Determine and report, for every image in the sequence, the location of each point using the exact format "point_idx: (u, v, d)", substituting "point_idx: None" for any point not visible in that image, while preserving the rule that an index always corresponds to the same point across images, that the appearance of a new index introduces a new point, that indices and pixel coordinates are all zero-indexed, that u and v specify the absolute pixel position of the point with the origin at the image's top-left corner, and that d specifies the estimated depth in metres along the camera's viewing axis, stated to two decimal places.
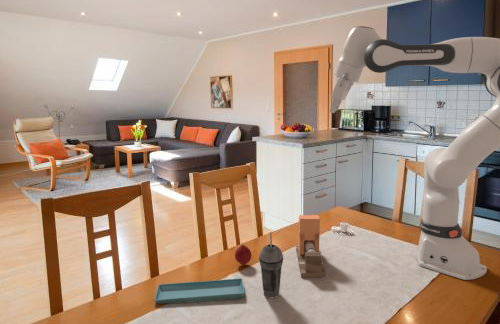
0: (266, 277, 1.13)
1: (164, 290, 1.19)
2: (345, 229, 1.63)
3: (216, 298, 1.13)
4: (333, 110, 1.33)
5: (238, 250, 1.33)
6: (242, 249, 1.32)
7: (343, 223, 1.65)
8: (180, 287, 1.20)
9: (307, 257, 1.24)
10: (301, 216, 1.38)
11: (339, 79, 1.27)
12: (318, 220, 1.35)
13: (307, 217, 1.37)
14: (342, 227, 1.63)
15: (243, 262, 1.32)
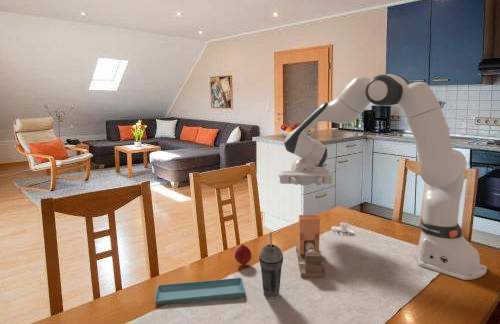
0: (266, 277, 1.13)
1: (164, 291, 1.18)
2: (345, 229, 1.63)
3: (217, 298, 1.13)
4: (294, 181, 1.43)
5: (238, 250, 1.33)
6: (242, 249, 1.32)
7: (343, 223, 1.65)
8: (180, 287, 1.20)
9: (307, 257, 1.24)
10: (301, 216, 1.38)
11: None
12: (318, 220, 1.35)
13: (307, 217, 1.37)
14: (342, 227, 1.63)
15: (243, 262, 1.32)
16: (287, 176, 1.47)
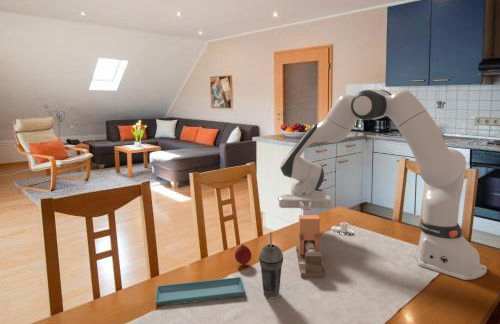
0: (266, 277, 1.13)
1: (163, 291, 1.18)
2: (345, 229, 1.63)
3: (217, 297, 1.13)
4: (302, 206, 1.45)
5: (238, 250, 1.33)
6: (242, 249, 1.32)
7: (343, 223, 1.65)
8: (179, 288, 1.19)
9: (307, 257, 1.24)
10: (301, 216, 1.38)
11: None
12: (318, 220, 1.35)
13: (307, 217, 1.37)
14: (342, 227, 1.63)
15: (243, 262, 1.32)
16: (286, 200, 1.49)
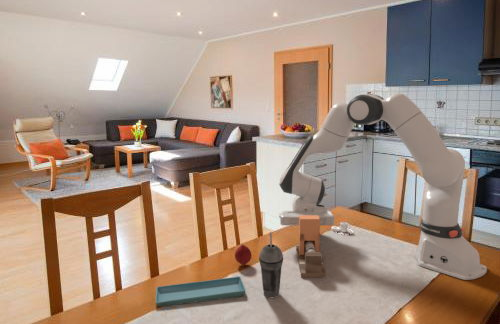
0: (266, 277, 1.13)
1: (163, 292, 1.18)
2: (345, 229, 1.63)
3: (218, 297, 1.14)
4: None
5: (238, 250, 1.33)
6: (242, 249, 1.32)
7: (343, 223, 1.65)
8: (179, 288, 1.19)
9: (307, 257, 1.24)
10: (301, 216, 1.38)
11: None
12: (318, 220, 1.35)
13: (307, 217, 1.37)
14: (342, 227, 1.63)
15: (243, 262, 1.32)
16: (288, 218, 1.45)
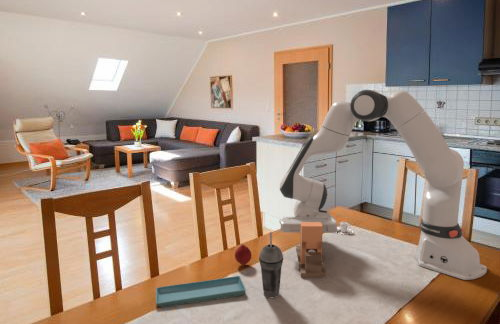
0: (266, 277, 1.13)
1: (162, 293, 1.17)
2: (345, 229, 1.63)
3: (218, 297, 1.14)
4: None
5: (238, 250, 1.33)
6: (242, 249, 1.32)
7: (343, 223, 1.65)
8: (178, 289, 1.19)
9: (307, 257, 1.24)
10: (303, 223, 1.31)
11: None
12: (321, 227, 1.28)
13: (309, 224, 1.30)
14: (342, 227, 1.63)
15: (243, 262, 1.32)
16: (288, 225, 1.38)
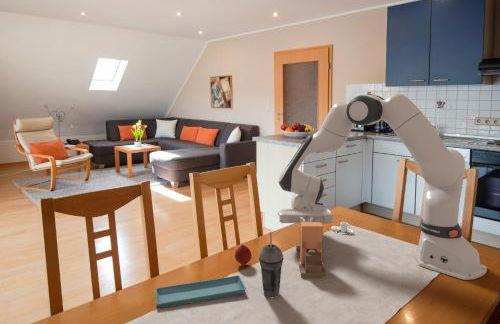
0: (266, 277, 1.13)
1: (162, 293, 1.17)
2: (345, 228, 1.63)
3: (218, 296, 1.14)
4: (303, 221, 1.42)
5: (238, 250, 1.33)
6: (242, 249, 1.32)
7: (343, 222, 1.66)
8: (178, 289, 1.19)
9: (307, 257, 1.24)
10: (303, 223, 1.31)
11: None
12: (321, 227, 1.28)
13: (309, 224, 1.30)
14: (342, 226, 1.63)
15: (243, 262, 1.32)
16: (287, 216, 1.46)
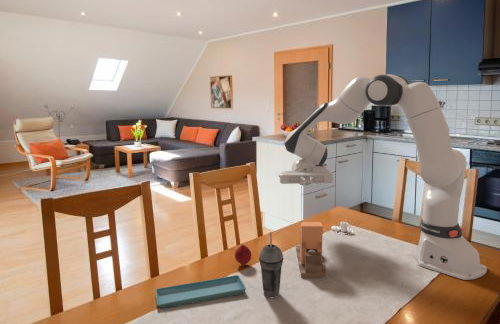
0: (266, 277, 1.13)
1: (162, 294, 1.17)
2: (345, 228, 1.63)
3: (219, 296, 1.14)
4: (303, 180, 1.43)
5: (238, 250, 1.33)
6: (242, 249, 1.32)
7: (343, 222, 1.66)
8: (178, 289, 1.18)
9: (307, 257, 1.24)
10: (303, 223, 1.31)
11: None
12: (321, 227, 1.28)
13: (309, 224, 1.30)
14: (342, 226, 1.63)
15: (243, 262, 1.32)
16: (287, 176, 1.47)
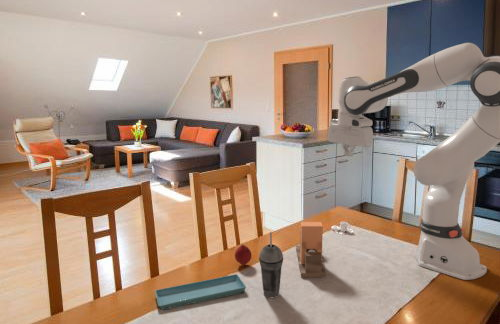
0: (266, 277, 1.13)
1: (162, 295, 1.16)
2: (345, 228, 1.64)
3: (219, 295, 1.14)
4: None
5: (238, 250, 1.33)
6: (242, 249, 1.32)
7: (343, 222, 1.66)
8: (177, 290, 1.18)
9: (307, 257, 1.24)
10: (303, 223, 1.31)
11: None
12: (321, 227, 1.28)
13: (309, 224, 1.30)
14: (342, 226, 1.64)
15: (243, 262, 1.32)
16: None
